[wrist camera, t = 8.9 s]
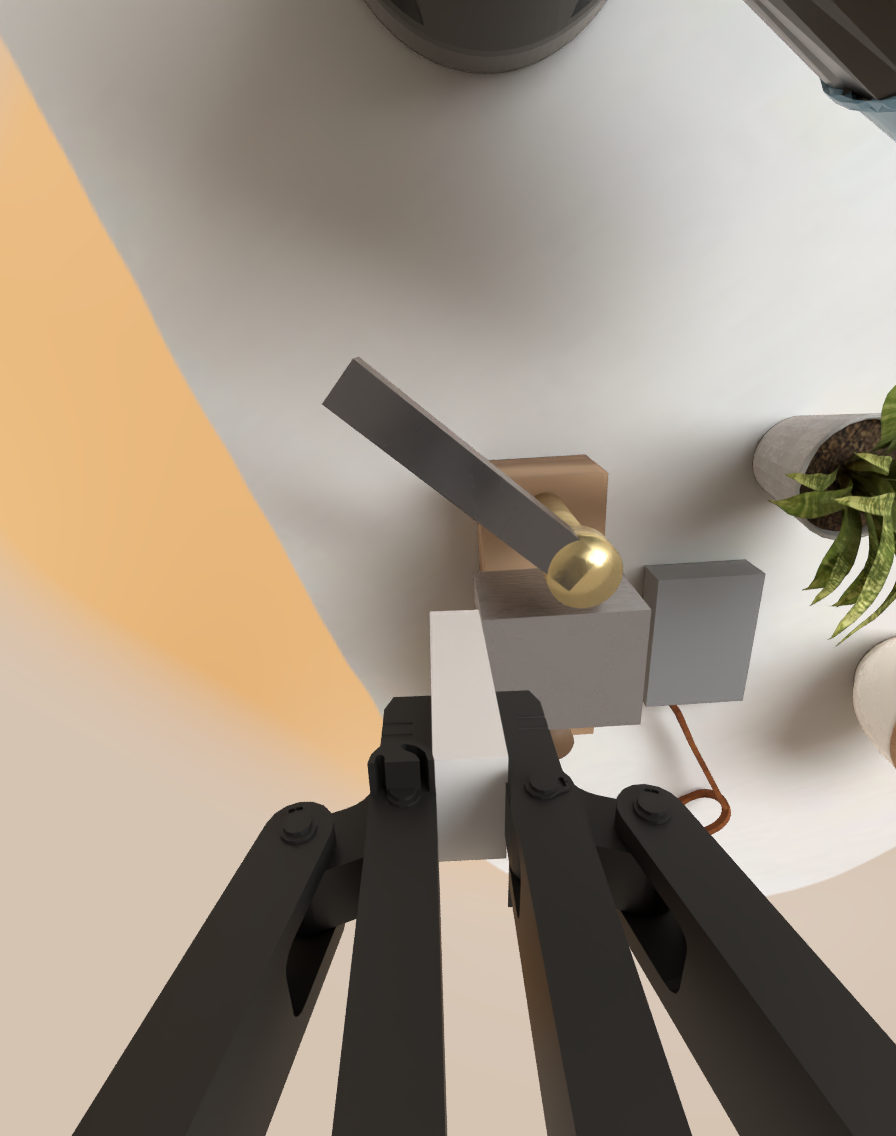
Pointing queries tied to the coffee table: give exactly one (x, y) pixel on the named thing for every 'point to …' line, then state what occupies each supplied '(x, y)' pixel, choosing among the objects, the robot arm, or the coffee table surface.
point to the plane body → (570, 495)
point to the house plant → (839, 495)
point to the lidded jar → (878, 697)
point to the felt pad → (700, 630)
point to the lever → (478, 487)
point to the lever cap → (565, 648)
